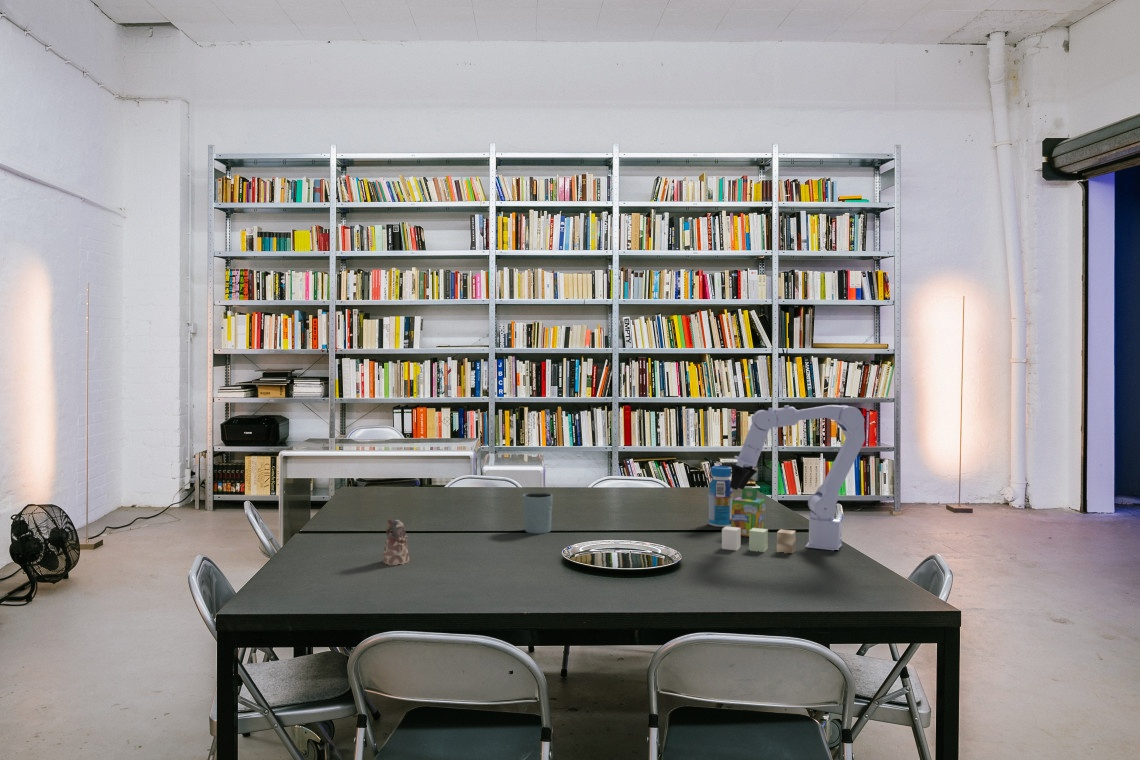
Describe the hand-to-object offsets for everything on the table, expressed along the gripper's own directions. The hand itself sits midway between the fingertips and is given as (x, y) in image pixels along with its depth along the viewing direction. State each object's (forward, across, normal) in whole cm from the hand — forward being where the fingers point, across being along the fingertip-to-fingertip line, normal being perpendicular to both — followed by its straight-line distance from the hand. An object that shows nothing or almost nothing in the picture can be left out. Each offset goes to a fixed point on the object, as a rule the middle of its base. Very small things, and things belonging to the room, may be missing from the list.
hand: (736, 488), depth 236 cm
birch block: (+12, -1, +20) cm, 23 cm away
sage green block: (+14, +1, +13) cm, 19 cm away
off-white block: (+17, +2, +6) cm, 18 cm away
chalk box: (+15, -18, +5) cm, 24 cm away
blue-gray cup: (+38, +10, -54) cm, 67 cm away
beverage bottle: (+17, -27, -7) cm, 33 cm away
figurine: (+50, +62, -67) cm, 104 cm away
